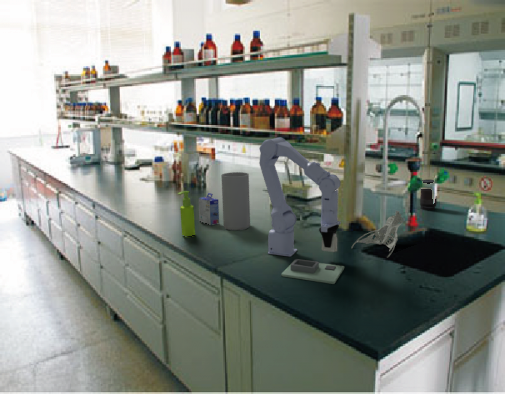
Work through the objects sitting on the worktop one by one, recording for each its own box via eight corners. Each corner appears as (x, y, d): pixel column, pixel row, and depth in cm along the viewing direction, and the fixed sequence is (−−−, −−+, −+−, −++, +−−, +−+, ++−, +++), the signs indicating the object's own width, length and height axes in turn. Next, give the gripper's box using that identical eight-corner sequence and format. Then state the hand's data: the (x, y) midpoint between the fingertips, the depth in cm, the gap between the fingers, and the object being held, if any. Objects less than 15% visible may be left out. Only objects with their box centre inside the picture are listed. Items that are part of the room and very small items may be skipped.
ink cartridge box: (220, 223, 209) (218, 194, 206) (210, 226, 206) (209, 196, 203) (208, 219, 217) (206, 191, 214) (199, 222, 213) (197, 193, 210)
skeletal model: (349, 249, 169) (373, 198, 179) (357, 261, 175) (380, 211, 184) (388, 258, 158) (411, 203, 168) (395, 270, 164) (417, 217, 173)
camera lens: (417, 207, 230) (418, 179, 227) (432, 206, 230) (434, 179, 227) (422, 210, 222) (424, 182, 219) (438, 210, 222) (440, 181, 219)
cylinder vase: (234, 232, 194) (232, 177, 189) (218, 227, 204) (215, 174, 198) (255, 227, 202) (254, 174, 197) (239, 221, 212) (237, 171, 206)
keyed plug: (321, 250, 157) (321, 234, 156) (323, 247, 160) (324, 232, 158) (335, 252, 155) (335, 236, 154) (337, 249, 157) (337, 233, 156)
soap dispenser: (177, 236, 192) (174, 191, 187) (189, 232, 197) (186, 189, 192) (185, 238, 188) (182, 193, 183) (197, 234, 193) (195, 190, 188)
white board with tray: (281, 276, 145) (281, 268, 144) (294, 261, 157) (294, 254, 157) (334, 284, 138) (334, 275, 137) (344, 268, 150) (344, 260, 149)
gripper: (335, 215, 146) (334, 253, 149) (345, 205, 159) (344, 240, 162) (315, 213, 149) (315, 250, 152) (326, 204, 162) (325, 238, 165)
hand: (328, 245), depth 157 cm, fingers closed on keyed plug, 3 cm apart
